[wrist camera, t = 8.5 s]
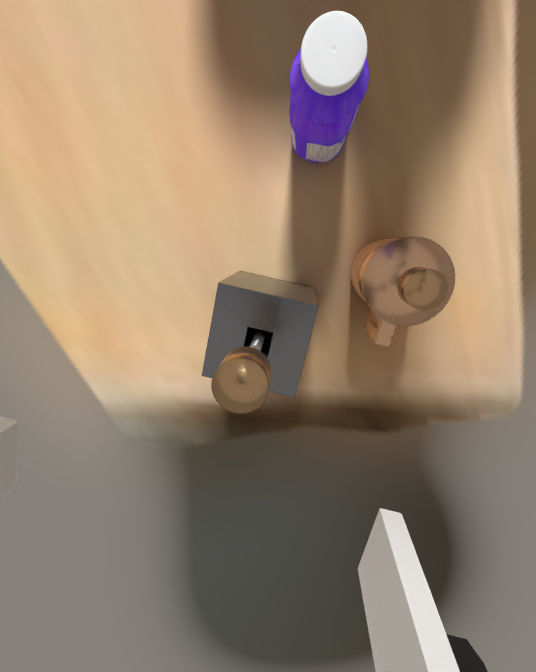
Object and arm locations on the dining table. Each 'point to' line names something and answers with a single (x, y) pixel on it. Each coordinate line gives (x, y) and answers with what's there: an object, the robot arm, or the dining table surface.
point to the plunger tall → (244, 374)
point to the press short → (402, 283)
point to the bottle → (327, 85)
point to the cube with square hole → (263, 324)
